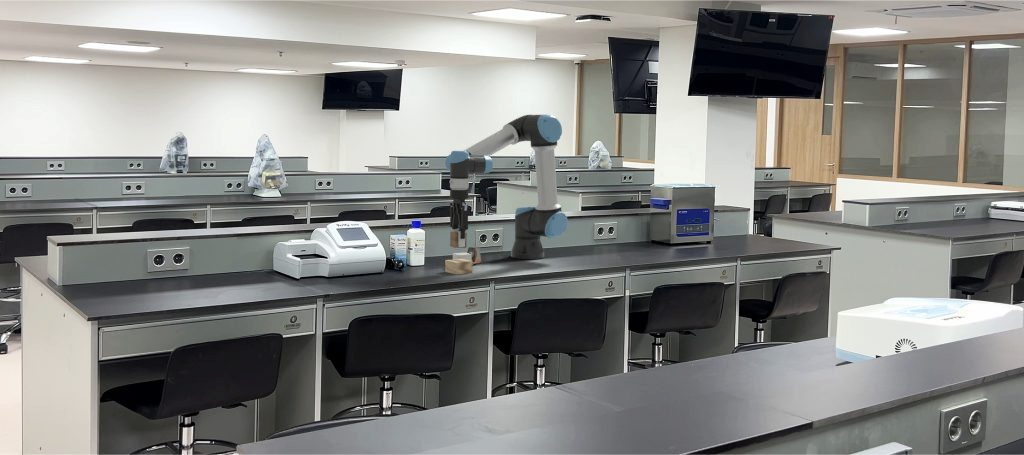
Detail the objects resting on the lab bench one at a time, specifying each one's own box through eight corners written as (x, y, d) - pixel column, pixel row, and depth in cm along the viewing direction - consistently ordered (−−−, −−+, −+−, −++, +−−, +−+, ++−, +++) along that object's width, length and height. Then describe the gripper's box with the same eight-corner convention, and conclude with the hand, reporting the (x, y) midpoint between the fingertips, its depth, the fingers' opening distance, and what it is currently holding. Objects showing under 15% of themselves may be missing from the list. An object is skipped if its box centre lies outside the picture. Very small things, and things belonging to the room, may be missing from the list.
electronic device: (463, 265, 400) (463, 248, 399) (471, 262, 409) (472, 245, 408) (473, 266, 398) (473, 248, 397) (481, 263, 407) (481, 246, 407)
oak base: (461, 270, 387) (461, 258, 387) (472, 273, 381) (472, 261, 380) (445, 272, 383) (445, 260, 382) (456, 275, 376) (456, 262, 376)
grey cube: (465, 266, 397) (465, 252, 397) (471, 268, 392) (471, 254, 391) (452, 267, 395) (452, 253, 394) (458, 269, 389) (458, 255, 389)
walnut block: (461, 245, 384) (461, 231, 383) (466, 247, 379) (466, 232, 379) (450, 246, 381) (450, 231, 381) (455, 247, 377) (455, 233, 376)
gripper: (441, 187, 384) (441, 243, 387) (459, 190, 368) (459, 249, 371) (458, 187, 387) (458, 242, 390) (477, 190, 372) (476, 248, 374)
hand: (458, 245), depth 380 cm, fingers closed on walnut block, 5 cm apart
